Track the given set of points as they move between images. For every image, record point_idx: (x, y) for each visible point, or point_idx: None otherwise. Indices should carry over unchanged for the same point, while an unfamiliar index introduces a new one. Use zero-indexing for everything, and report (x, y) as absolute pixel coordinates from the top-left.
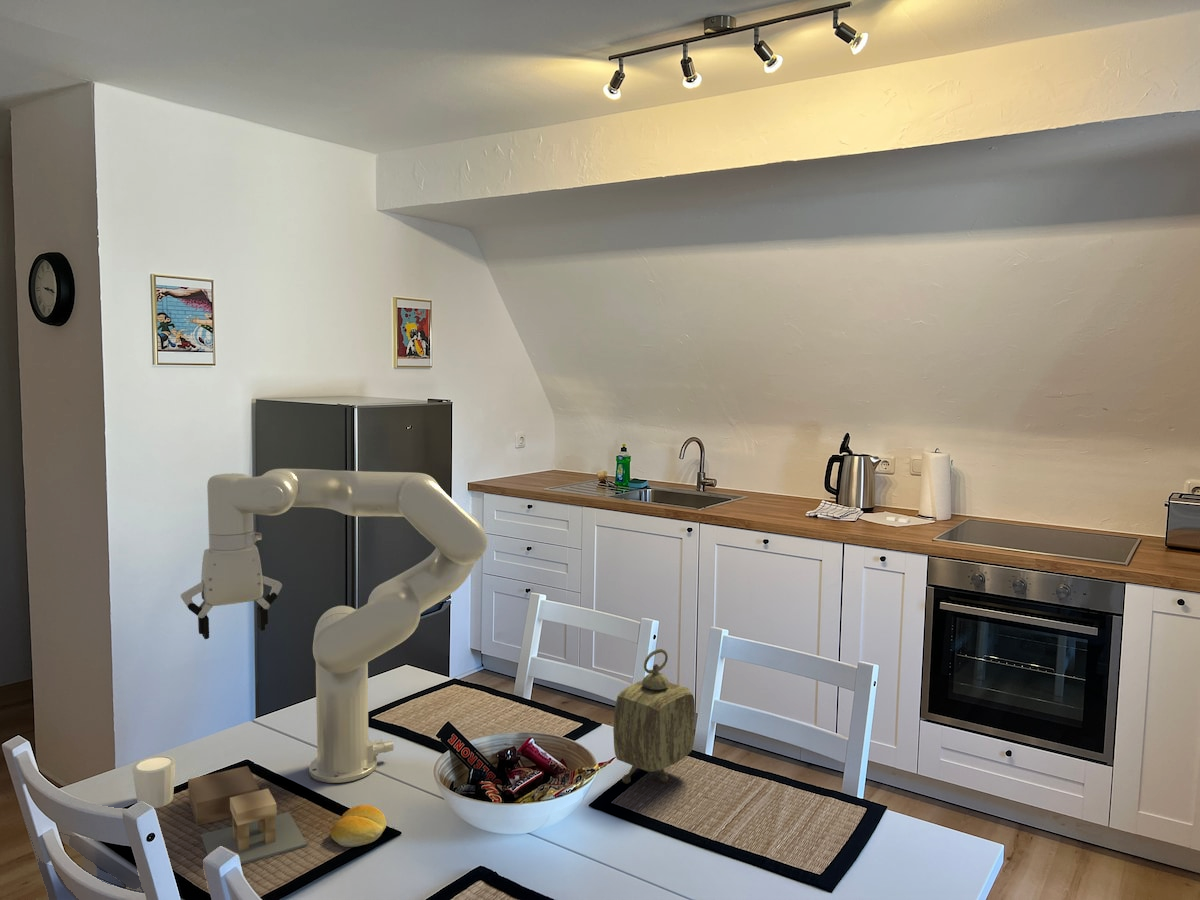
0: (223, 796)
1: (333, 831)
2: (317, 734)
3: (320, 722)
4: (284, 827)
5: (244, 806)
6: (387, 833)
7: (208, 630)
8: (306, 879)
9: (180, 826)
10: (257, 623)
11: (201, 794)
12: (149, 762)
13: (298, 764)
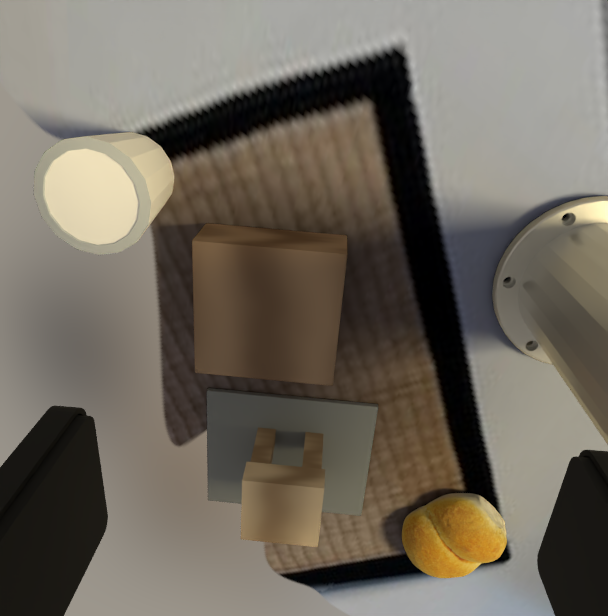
0: (252, 377)
1: (404, 542)
2: (556, 321)
3: (570, 373)
4: (348, 453)
5: (260, 525)
6: None
7: (72, 586)
8: (325, 578)
9: (176, 327)
10: (585, 480)
11: (210, 340)
12: (79, 176)
13: (505, 183)
